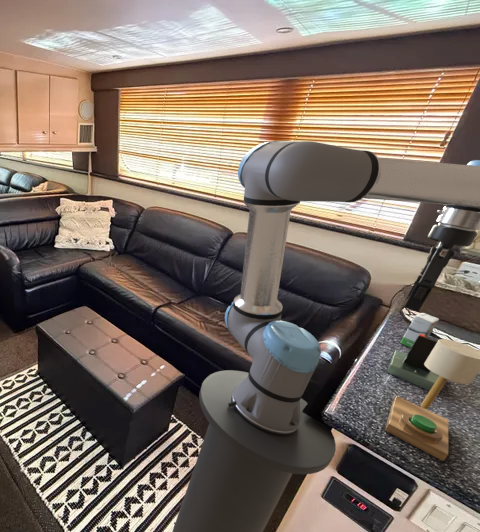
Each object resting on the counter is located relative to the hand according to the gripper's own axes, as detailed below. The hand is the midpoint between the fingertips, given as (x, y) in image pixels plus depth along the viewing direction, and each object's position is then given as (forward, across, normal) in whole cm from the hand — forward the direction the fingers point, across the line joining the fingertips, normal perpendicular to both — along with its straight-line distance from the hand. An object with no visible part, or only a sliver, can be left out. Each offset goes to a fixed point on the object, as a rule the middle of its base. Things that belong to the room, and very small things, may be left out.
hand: (412, 303), depth 85 cm
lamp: (+23, +8, +11) cm, 26 cm away
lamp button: (+23, +18, +11) cm, 31 cm away
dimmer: (+26, -19, +9) cm, 33 cm away
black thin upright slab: (+23, -19, +9) cm, 31 cm away
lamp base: (+27, +13, +11) cm, 32 cm away
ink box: (+26, -46, +7) cm, 53 cm away
